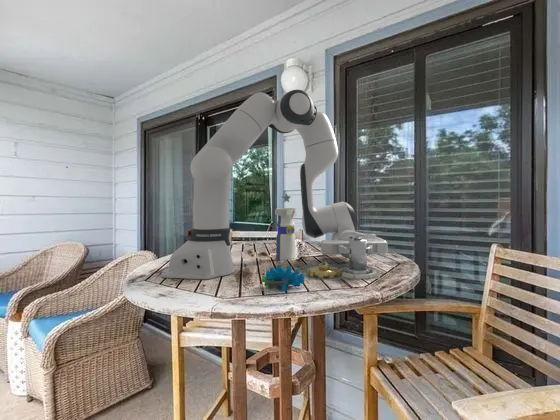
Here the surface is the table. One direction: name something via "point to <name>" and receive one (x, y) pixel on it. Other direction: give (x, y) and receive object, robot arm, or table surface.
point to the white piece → (285, 233)
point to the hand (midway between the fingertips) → (358, 251)
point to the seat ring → (359, 276)
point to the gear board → (333, 266)
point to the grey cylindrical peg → (358, 256)
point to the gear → (283, 277)
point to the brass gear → (324, 271)
